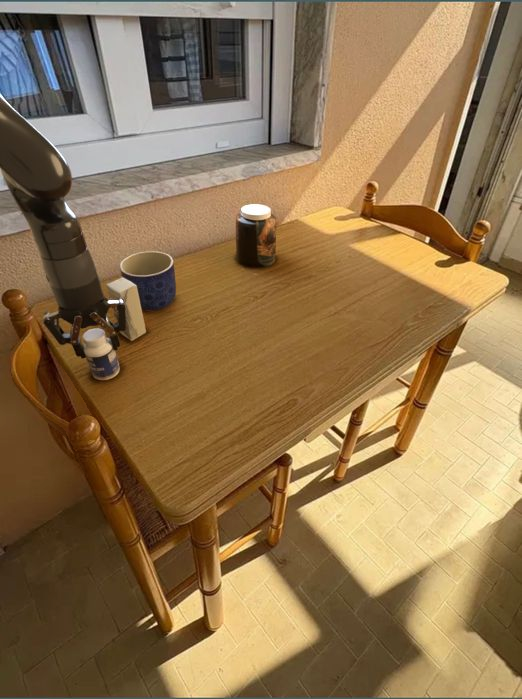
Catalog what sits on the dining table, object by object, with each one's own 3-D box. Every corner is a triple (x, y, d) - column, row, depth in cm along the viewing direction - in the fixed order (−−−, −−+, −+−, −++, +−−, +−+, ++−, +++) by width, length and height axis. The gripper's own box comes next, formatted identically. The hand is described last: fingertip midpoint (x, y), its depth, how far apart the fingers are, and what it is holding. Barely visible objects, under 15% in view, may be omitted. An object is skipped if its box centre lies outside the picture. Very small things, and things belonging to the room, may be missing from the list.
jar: (234, 267, 111) (232, 216, 101) (238, 249, 120) (236, 201, 110) (274, 268, 111) (276, 218, 101) (275, 250, 120) (277, 202, 110)
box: (118, 332, 87) (104, 284, 79) (134, 323, 90) (122, 275, 81) (132, 342, 85) (119, 293, 76) (148, 332, 87) (137, 284, 79)
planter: (175, 315, 93) (168, 276, 85) (123, 315, 92) (113, 276, 85) (182, 288, 102) (176, 251, 95) (135, 288, 102) (126, 250, 94)
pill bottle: (88, 380, 76) (72, 342, 69) (99, 361, 80) (86, 324, 73) (114, 382, 75) (101, 344, 69) (124, 363, 79) (113, 326, 73)
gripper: (114, 257, 68) (134, 332, 79) (25, 272, 63) (59, 349, 74) (120, 277, 63) (140, 354, 74) (23, 295, 58) (60, 374, 69)
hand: (99, 351), depth 74 cm, fingers closed on pill bottle, 5 cm apart
